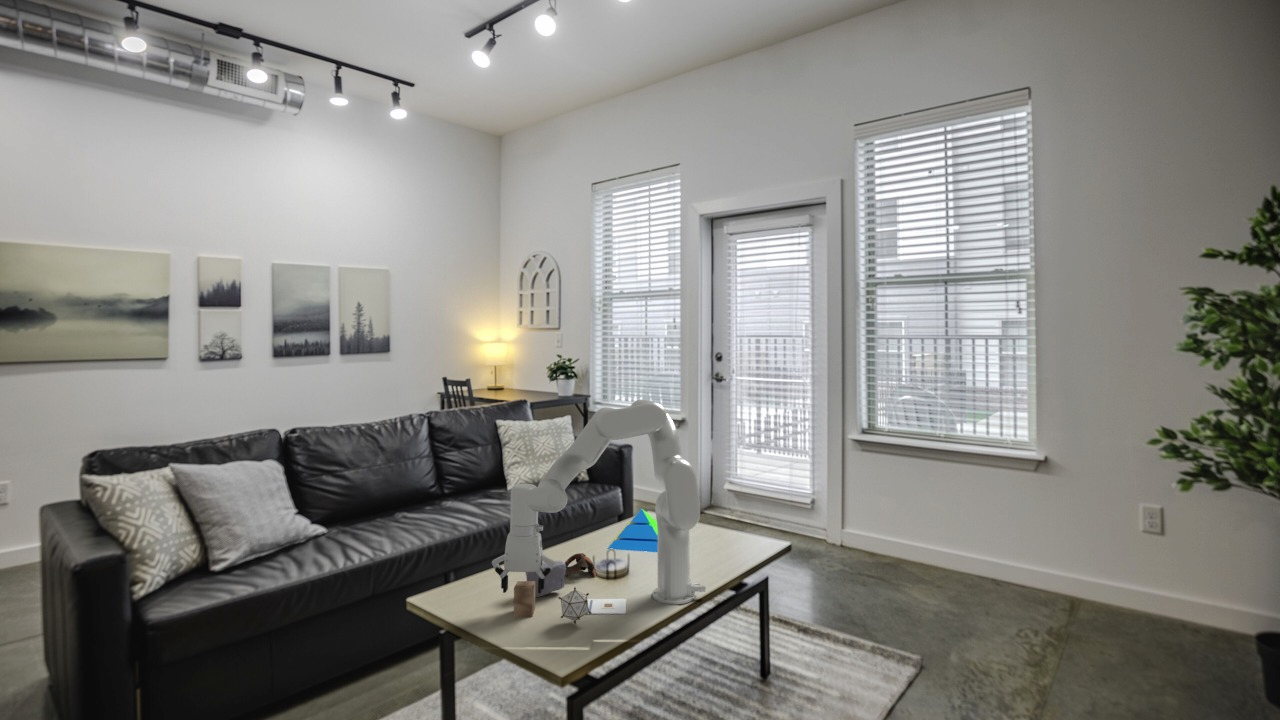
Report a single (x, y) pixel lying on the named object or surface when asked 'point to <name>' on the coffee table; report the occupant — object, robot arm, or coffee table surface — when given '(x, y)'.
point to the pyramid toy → (638, 534)
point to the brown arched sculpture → (579, 564)
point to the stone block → (549, 578)
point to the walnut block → (524, 599)
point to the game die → (574, 605)
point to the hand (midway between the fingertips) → (522, 591)
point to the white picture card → (607, 606)
